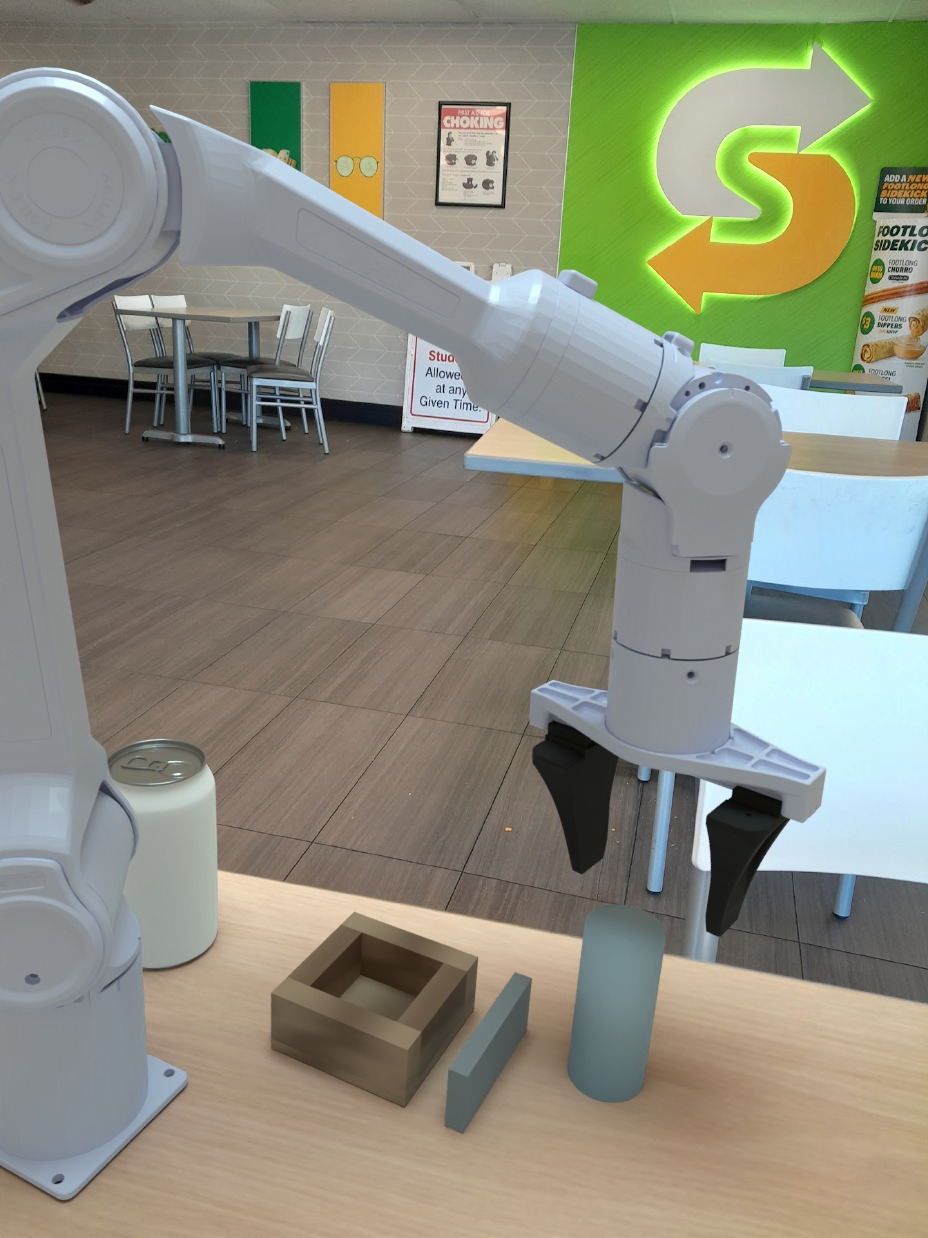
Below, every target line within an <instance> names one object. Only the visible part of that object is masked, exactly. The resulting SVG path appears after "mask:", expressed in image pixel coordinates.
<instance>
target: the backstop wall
mask: <svg viewBox="0 0 928 1238" xmlns="http://www.w3.org/2000/svg"><path fill="white" fill-rule="evenodd" d="M532 982H533V978H532V977H530V976H527V975H524V974H522V973H519V972H515V971H514V973H513V974H512V975H511V977H510V978H509V980H508V982H507V983H506V984H505V986H504V987H503V989H502V990H501V992H500V993H499V995H497V997H496V998H495V1001H494V1002H493V1003H492V1004H491V1006H490V1008H489V1009H488V1010H487V1012H486V1013H485V1015H484V1016H483V1018H482V1019H481V1021H480V1022H479V1024H478V1025H477V1026H476V1027H475V1029H474V1031H473V1033H472V1034H471V1035H470V1037H469V1039H468V1040H467V1042H466V1043H465V1044H464V1046H463V1047H462V1048H461V1050H460V1052H459V1053H458V1054H457V1056H456V1058H455V1059H454V1061H453V1062H452V1063H451V1065H449V1068H448V1072H447V1083H446V1084H447V1086H446V1087H447V1088H446V1099H445V1113H444V1114H445V1116H444V1124H443V1125H444V1127H446V1128H449V1129H451V1130H453V1131H455V1132H457V1133H459V1134H462V1135H464V1133H465V1132H466V1130H467V1128H468V1127H469V1126H470V1123H471V1122H472V1120H473V1118H474V1117H475V1116H476V1114H477V1112H479V1109H480V1107H481V1106H482V1104H483V1102H484V1101H485V1099H486V1097H487V1096H488V1094H489V1093H490V1091H491V1089H492V1088H493V1087H494V1084H495V1082H496V1081H497V1080H498V1078H499V1077H500V1074H501V1073H502V1071H503V1070H504V1068H505V1066H506V1065H507V1064H508V1061H509V1060H510V1059H511V1057H512V1055H513V1054H514V1052H515V1051H516V1048H517V1047H518V1045H519V1044H520V1042H521V1040H522V1038H523V1037H524V1035H526V1034H525V1033H526V1032H527V1030H528V1023H529V1022H528V1021H529V1012H530V1002H531V991H532V984H533V983H532Z"/></svg>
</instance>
